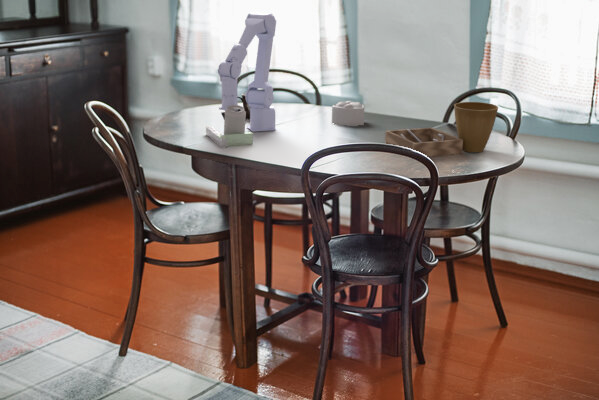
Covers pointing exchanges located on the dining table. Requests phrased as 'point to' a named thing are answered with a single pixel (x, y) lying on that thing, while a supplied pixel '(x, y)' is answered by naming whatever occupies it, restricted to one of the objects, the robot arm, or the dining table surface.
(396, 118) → the dining table surface
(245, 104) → the coffee mug
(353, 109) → the lumpy-topped squat cylinder
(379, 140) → the dining table surface
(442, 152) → the rack corral
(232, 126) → the can
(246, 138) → the pale green flat block
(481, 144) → the plant pot
